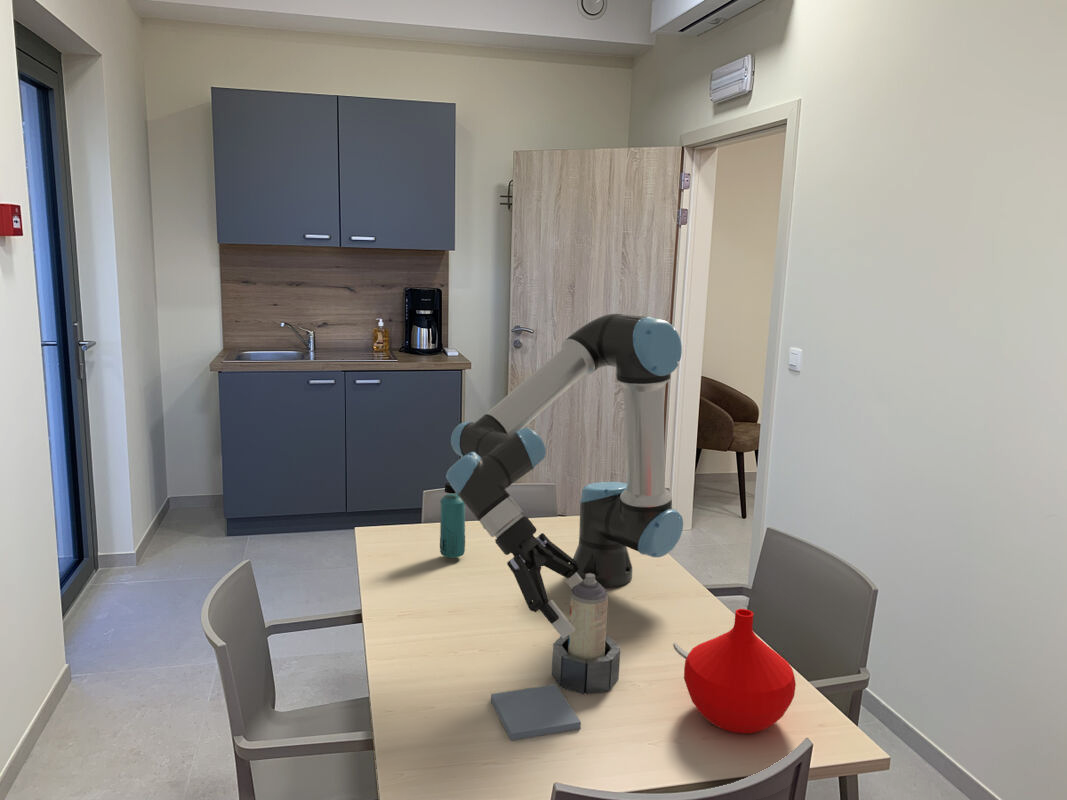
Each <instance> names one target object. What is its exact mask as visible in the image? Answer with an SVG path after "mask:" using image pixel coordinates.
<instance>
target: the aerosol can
mask: <svg viewBox="0 0 1067 800" xmlns="http://www.w3.org/2000/svg"><path fill="white" fill-rule="evenodd" d="M608 600H609V596H608V590H607V589H606V587H602V586H601V584H599V583H598V582H597V581H596V580H595V575H594V574H592V573H587V574H586V576H585V579H584V580H582V581H581V582H580V583H579V584H578V585H576V586H574V587H573V588H572V589H571V592H570V600H569V619H568V621H569V622H570V623H571V624H572V626H573V627H574V628H575V631H574V632H572V633H571V634H569V640H568V654H569V655H573V656H576V657H580V658H584V659H592V658H599V657H605V640H606V636H607V635H606V633H607V618H608V605H609V604H608V602H609V601H608Z"/></svg>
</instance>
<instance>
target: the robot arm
mask: <svg viewBox="0 0 1067 800" xmlns="http://www.w3.org/2000/svg"><path fill="white" fill-rule="evenodd" d="M682 347H683V346H682V340H681V337H680V334H679V332H678V331H677V329H676V328H675V327H674V326H673V325H672V324H671V322H670V323H669V322H668V321H667V320H663V319H660V318H656V317H653V316H644V315H643V316H640V315H629V314H622V313H621V314H620V313H611V314H605V315H603V316H599V317H597V318H595V319H593V320H591V321H589V322H588V323H586V324H585V325H583V326H581V327H580V328H579V329H576V330H575V331H574V332H573V333H572V334H571V335H569V336H568V337H567V338H565V340H563V341H562V343H561V349H560V350H558V351H557V352H556V353H555V354H554V355H553V356H551V358H549V359H548V360H547V361H546V362H545V363H543V364H542V365H541V366H540V367H539V368H538V369H536V370H535V371H534V372H533V373H532V374H530V375H529V376H528V377H527V378H526V379H525V380H523V381H522V382H521V383H520V384H518V385H517V386H516V387H515V388H514V389H513V390H512V391H511V392H509V393H508V394H507V395H506V396H505V397H503V398H502V399H501V400H500V401H499V402H498V403H496V404H495V405H494V406H493V407H492V408H491V409H490V410H488V411H487V412H486V413H485V414H484V415H482V416H481V417H480V418H479V419H477V420H476V421H464V422H461V423H459V424H458V425H457V426H456V427H455V428H454V429H453V431H452V433H451V436H450V445H451V448H452V450H453V451H454V453H456V455H457V456H459V457H460V458H459V459H458V460H456V462H455V463H453V464H452V465H451V466H450V467H449V469H448V470H447V471H446V474H445V478H446V480H447V482H449V483H450V485H451V486H452V488H453V489H454V491H455V492H456V493H455V494H457V495H458V496H459V497H460V498H461V499H462V501H463V502H464V503H465V506H466V507H467V508H468V509H469V510H470V512H472V514H473V516H474V517H475V518H476V519H477V521H478V522H479V523H480V524H481V526H482V527H483V529H484V530H485V531H486V532H487V533H488V535H489V536H490V537H492V538H494V537H495V539H494V540H495V544H496V545H497V546H498V548H499V549H500V550H501V552H502V553H503V554H504V555H506V556H508V555H510V554H512V555H513V557H512V558H511V559H509V560H508V561H507V562H506V564H507V567H508V568H509V570H510V571H511V572H512V574H513V577H514V578H515V580H516V582H517V584H518V587H519V589H520V592H521V594H522V596H523V599H524V601H525V602H526V605H527V608H528V609H529V610H530V611H531V612H534V613H537V612H538V611H540V612H541V613H542V614H543V615H544V617H545V618H546V620H547V621H548V622H549V623H550V624H551V626H552V627H553V628H554V629H555V630H556V632H557V633H558V634H559V637H562V638H563V639H564V638H565V637H567V636H568V635H569V634H571V633H572V632H574V631H575V628H574V627H573V626H572V624H571V623H570V622H569V619H568V618H567V617H566V615H565V614H564V613H563V612H562V611H561V609H560V608H559V607H558V605H557V604H556V603H555V601H554V600H553V599H551V600H550V601H549V597H548V594H547V590H546V587H545V584H544V580H543V577H542V574H541V570H542V567H546V568H547V569H549V570H551V571H553V572H555V573H557V574H558V575H559V576H562V577H564V578H566V580H565V583H566V585H568V586H569V587H570V589H571V590H572V588H573V587H574V586H576V585H578V584H579V583H580V582H581V581H582V580H584V579H585V576H586V574H587V573H592V574H594V575H595V580H596V581H597V582H598V583H599V584H601V586H602V587H603V588H615V587H620V586H624V585H626V584H628V583H629V582H631V581H632V579H633V566H632V565H633V564H632V561H631V557H630V554H629V551H628V548H629V549H631V550H633V551H636V552H638V553H640V554H641V555H643V556H649V557H651V558H657V559H658V558H661V557H664V556H667V554H669V553H670V552H671V551H672V550H674V548H675V547H676V545H677V544H678V543H679V541H680V539H681V536H682V534H683V530H684V520H683V516H682V515H681V514H680V512H679V511H678V510H677V509H675V508H673V498H672V497H673V496H672V493H671V492H670V491H669V490H667V488H666V483H665V481H666V480H665V479H666V478H665V477H666V474H665V471H666V469H665V468H666V467H665V466H666V465H665V405H664V402H665V401H664V398H665V396H664V387H665V385H667V384H668V383H669V381H670V380H671V374H672V373H673V372H674V371H675V370H676V369H677V367H678V366H679V363H678V362H680V361H681V359H682V354H683V353H682V351H683V350H682V349H683V348H682ZM602 367H615V369H616V370H615V371H616V373H615V375H616V377H615V378H616V381H617V382H618V383H619V384H620V386H622V387H623V399H624V400H623V404H624V405H623V406H624V440H625V441H624V442H625V443H624V444H625V446H624V447H625V472H626V473H625V475H626V477H625V478H626V480H625V482H626V483H625V482H620V481H601V482H593V483H589V484H586V485H585V486H584V487H583V488H582V490H581V494H580V498H581V499H580V500H579V503H580V504H579V531H578V533H579V535H578V536H579V537H578V544H577V547H576V550H575V552H574V556H573V557H571V556H570V555H569V554H567V553H566V552H565V551H563V550H562V549H561V548H559V547H558V546H557V545H556V544H555V543H553V542H552V541H551V540H550V539H549V537H548V536H546V534H544V533H540V534H539V535H538V536H534V534H536V533H537V527H536V526H535V525H534V524H533V522H532V521H531V519H529V517H528V516H525V515H524V516H523V513H524V511H523V510H522V508H520V506H519V504H517V502H516V501H515V500H514V499H513V498H512V496H511V494H510V493H509V492H508V491H507V490H506V489H508V488H509V487H510V486H511V485H512V484H514V483H515V482H517V481H518V480H519V479H521V478H522V477H524V476H525V475H526V474H528V473H529V472H530V471H532V470H534V469H535V468H536V466H538V464H540V463H541V462H542V461H543V460H544V459H545V457H546V455H547V448H546V446H545V444H544V441H543V440H542V437H541V436H540V435H539V434H538V433H537V432H536V431H535V430H533V429H532V428H529V427H527V425H528V424H530V423H531V422H532V421H533V420H534V419H535V418H536V417H537V416H539V415H540V414H541V413H542V412H544V410H545V409H547V408H548V407H549V406H550V405H551V404H552V403H554V402H555V401H556V400H557V399H559V397H560V396H561V395H562V394H564V393H565V392H566V391H567V390H568V389H569V388H571V387H572V386H574V384H576V382H578V380H579V379H581V378H582V377H584V376H589V375H592V374H593V373H595V371H597V370H598V369H600V368H602Z"/></svg>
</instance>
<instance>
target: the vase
mask: <svg viewBox="0 0 1067 800" xmlns="http://www.w3.org/2000/svg"><path fill="white" fill-rule="evenodd" d="M753 625H754V612H753V611H751V610H749V609H745V608H738V609H736V610H735V615H734V624H733V627H732V628H731V629H730V630H729V631H727V632H725V633H723V634H720V635H719V636H716V637H714V638H712V639H709V640H707V641H704V642H701V643H699V644H697V645H696V646H694V647H693V648H692V649H691V650H690V652H688V653H689V654H688V656H687V658H685V661H684V667H683V668H684V669H683V670H684V672H683V680H684V683H685V685H686V688H687V691H688V692H687V693H688V694H689V697H690V699H691V702H692V704H693V705H694V706H695V708H696V709H697V710H698V711H699V713H700V714H701V716H703V718H705V719H706V720H707V721H709V722H710V723H711V724H713V725H714V726H715V727H717V728H720V729H721V730H724V731H728V732H730V733H735V734H743V735H745V734H754V733H757V732H761V731H764V730H767V729H768V728H770V727H772V726H773V725H774V724H775V723H776V722H778V721H779V720H780V719H782V718H783V717H784V715H785V714H786V711H787V710H788V709H789V707H790V706H791V703H792V701H793V700H794V697H795V692H796V685H797V683H796V678H795V673H794V670H793V668H792V667H791V665H790V663H789V662H788V661H787V660H786V659H785V658H784V657H783V656H781V655H780V654H779V653H778V652H777V651H775V650H774V649H772V648H771V647H770V646H769V645H767V644H766V643H765V642H764V641H763V640H762V639H760V638H759V637H758V636H757V635H756V634H755V632H754V629H753Z"/></svg>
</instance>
